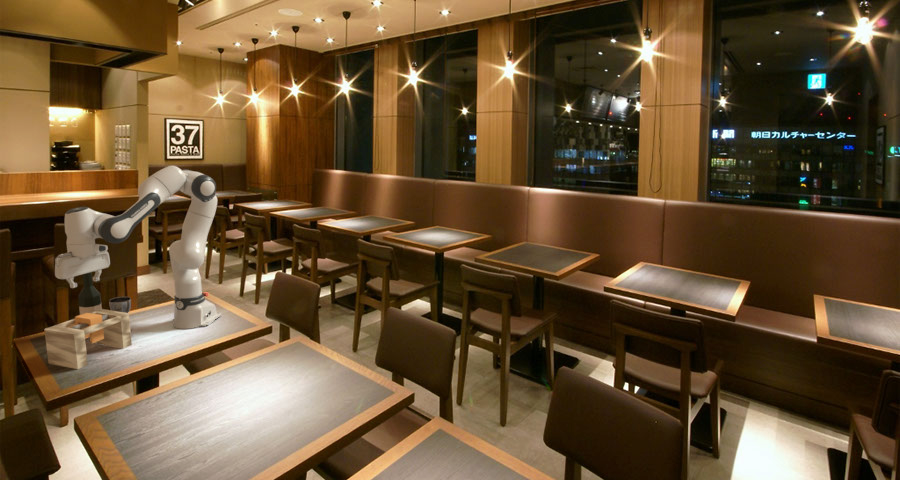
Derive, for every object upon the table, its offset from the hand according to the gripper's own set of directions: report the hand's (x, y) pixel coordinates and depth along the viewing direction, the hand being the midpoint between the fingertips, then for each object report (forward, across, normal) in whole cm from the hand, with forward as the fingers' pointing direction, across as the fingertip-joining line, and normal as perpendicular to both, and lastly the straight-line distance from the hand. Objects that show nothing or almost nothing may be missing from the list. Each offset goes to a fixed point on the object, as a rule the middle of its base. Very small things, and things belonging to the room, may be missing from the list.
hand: (85, 284), depth 197 cm
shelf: (+29, 0, 0) cm, 29 cm away
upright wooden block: (+23, 0, 0) cm, 23 cm away
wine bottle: (+29, +18, +20) cm, 40 cm away
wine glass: (+29, +22, +8) cm, 37 cm away
